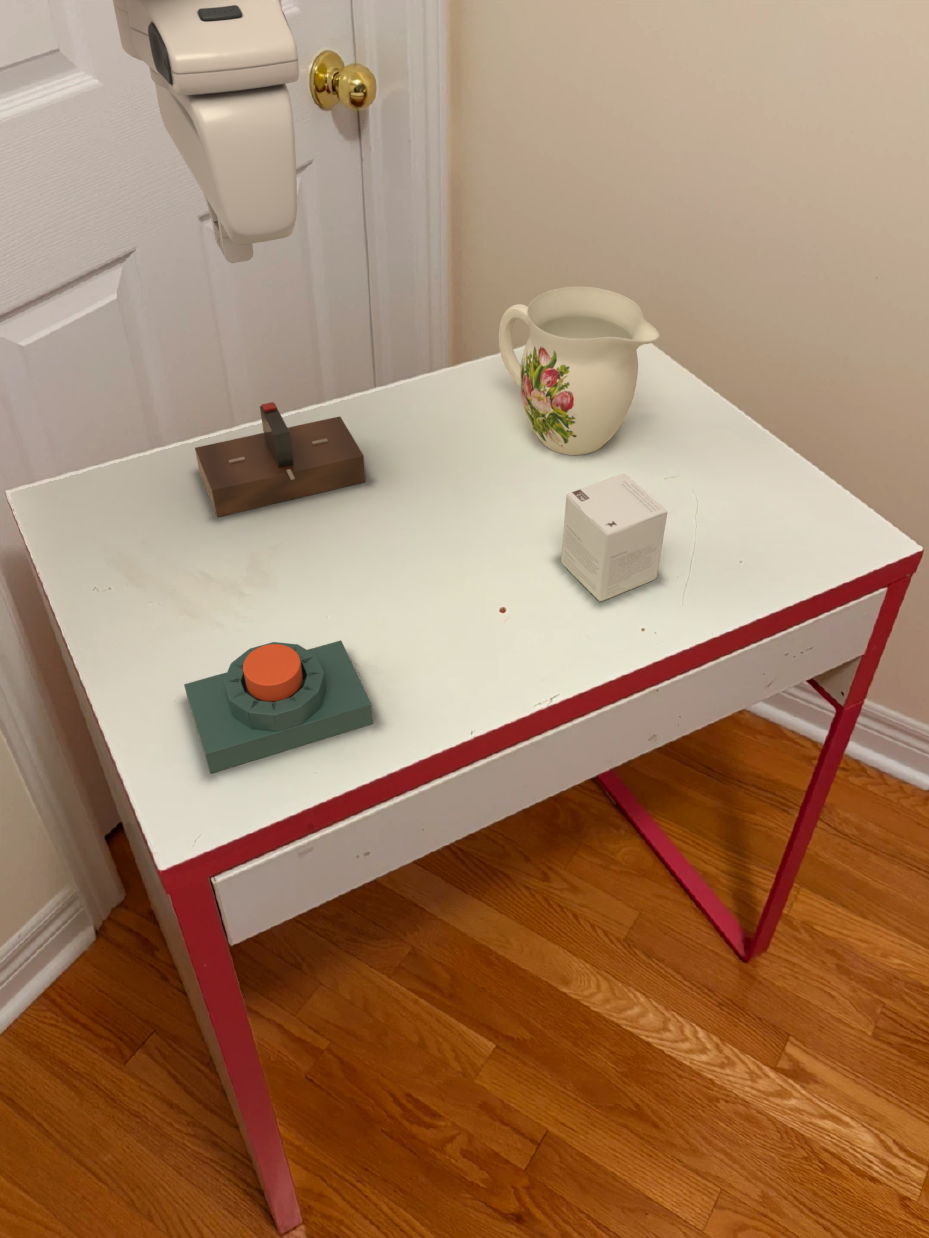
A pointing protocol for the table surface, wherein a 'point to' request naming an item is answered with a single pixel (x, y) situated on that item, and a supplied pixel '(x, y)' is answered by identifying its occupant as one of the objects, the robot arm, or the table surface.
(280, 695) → the release button
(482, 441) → the table surface
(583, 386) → the pitcher
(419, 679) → the table surface
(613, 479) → the product carton
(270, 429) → the dark brown box
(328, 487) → the dial panel
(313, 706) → the button block
